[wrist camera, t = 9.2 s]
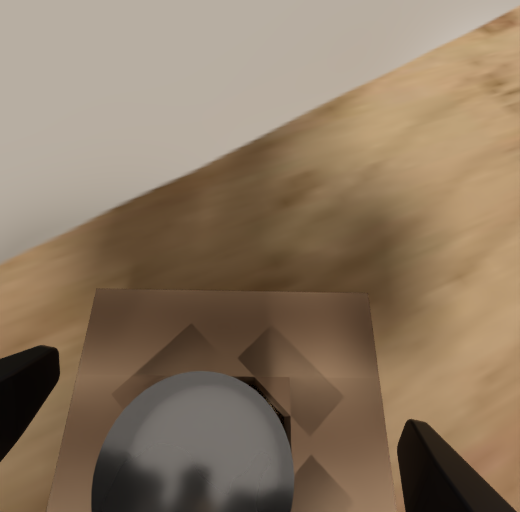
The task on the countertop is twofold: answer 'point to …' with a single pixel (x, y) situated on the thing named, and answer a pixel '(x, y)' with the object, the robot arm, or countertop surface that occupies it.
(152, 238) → the countertop surface
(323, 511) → the bore block
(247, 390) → the round bit
